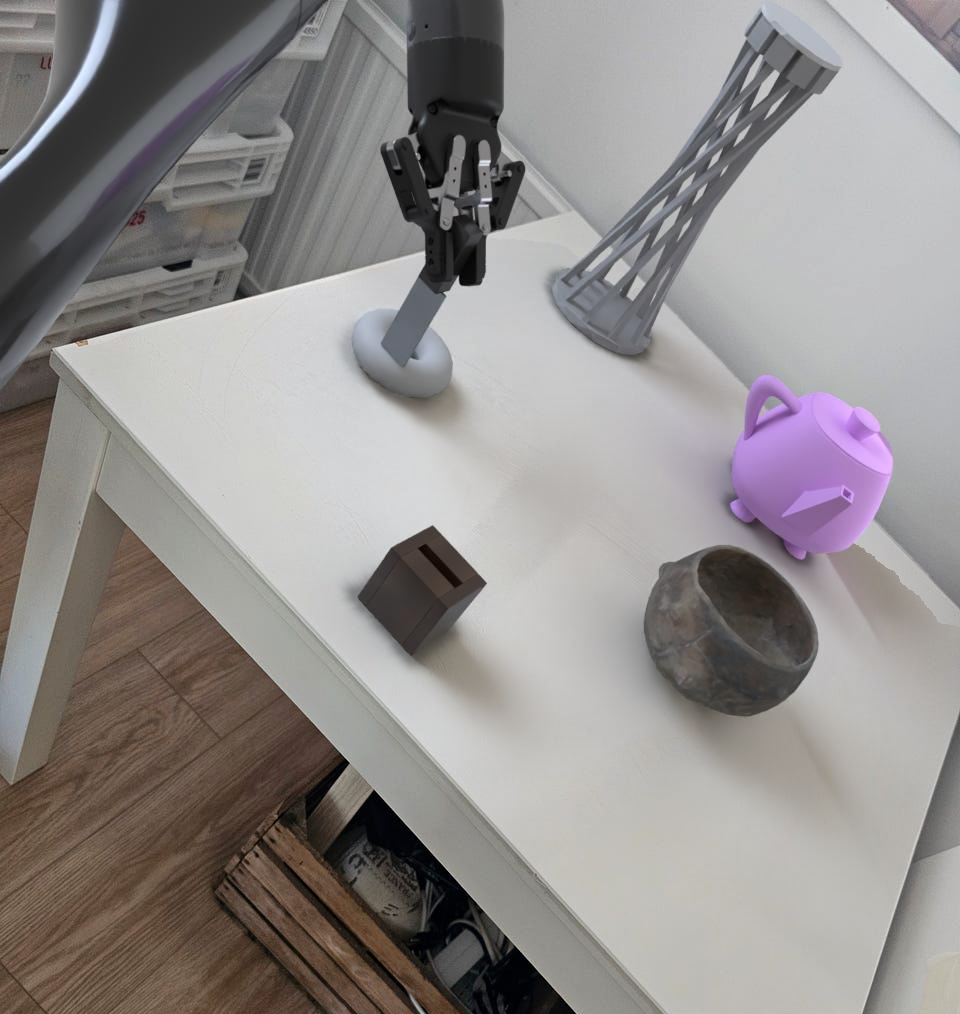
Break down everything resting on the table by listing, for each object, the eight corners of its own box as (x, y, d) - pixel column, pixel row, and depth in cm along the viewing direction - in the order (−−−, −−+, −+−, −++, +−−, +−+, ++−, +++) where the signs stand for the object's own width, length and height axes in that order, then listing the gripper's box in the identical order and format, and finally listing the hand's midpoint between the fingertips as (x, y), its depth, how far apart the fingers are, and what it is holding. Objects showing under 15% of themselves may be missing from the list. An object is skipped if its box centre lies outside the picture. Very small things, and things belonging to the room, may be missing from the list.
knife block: (356, 597, 77) (391, 547, 73) (398, 573, 81) (432, 524, 77) (410, 655, 76) (448, 608, 72) (449, 629, 80) (487, 583, 76)
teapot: (673, 514, 106) (773, 409, 96) (697, 419, 120) (785, 320, 110) (824, 617, 109) (936, 526, 99) (830, 513, 123) (927, 424, 113)
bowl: (612, 581, 94) (680, 510, 87) (746, 639, 99) (819, 576, 93) (621, 704, 85) (697, 636, 78) (767, 760, 90) (850, 700, 84)
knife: (374, 345, 91) (448, 212, 81) (388, 340, 92) (462, 210, 83) (396, 369, 91) (473, 238, 81) (410, 364, 92) (487, 235, 82)
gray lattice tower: (661, 336, 128) (870, 74, 104) (621, 368, 118) (842, 86, 95) (579, 263, 128) (769, -15, 105) (533, 289, 119) (731, -12, 95)
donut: (331, 322, 96) (365, 399, 91) (345, 292, 93) (381, 370, 89) (421, 337, 102) (457, 411, 97) (437, 309, 99) (475, 383, 95)
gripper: (414, 14, 73) (417, 274, 77) (553, 56, 82) (549, 286, 86) (352, 40, 78) (358, 282, 82) (489, 76, 87) (488, 292, 91)
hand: (456, 283), depth 84 cm, fingers closed on knife, 2 cm apart
